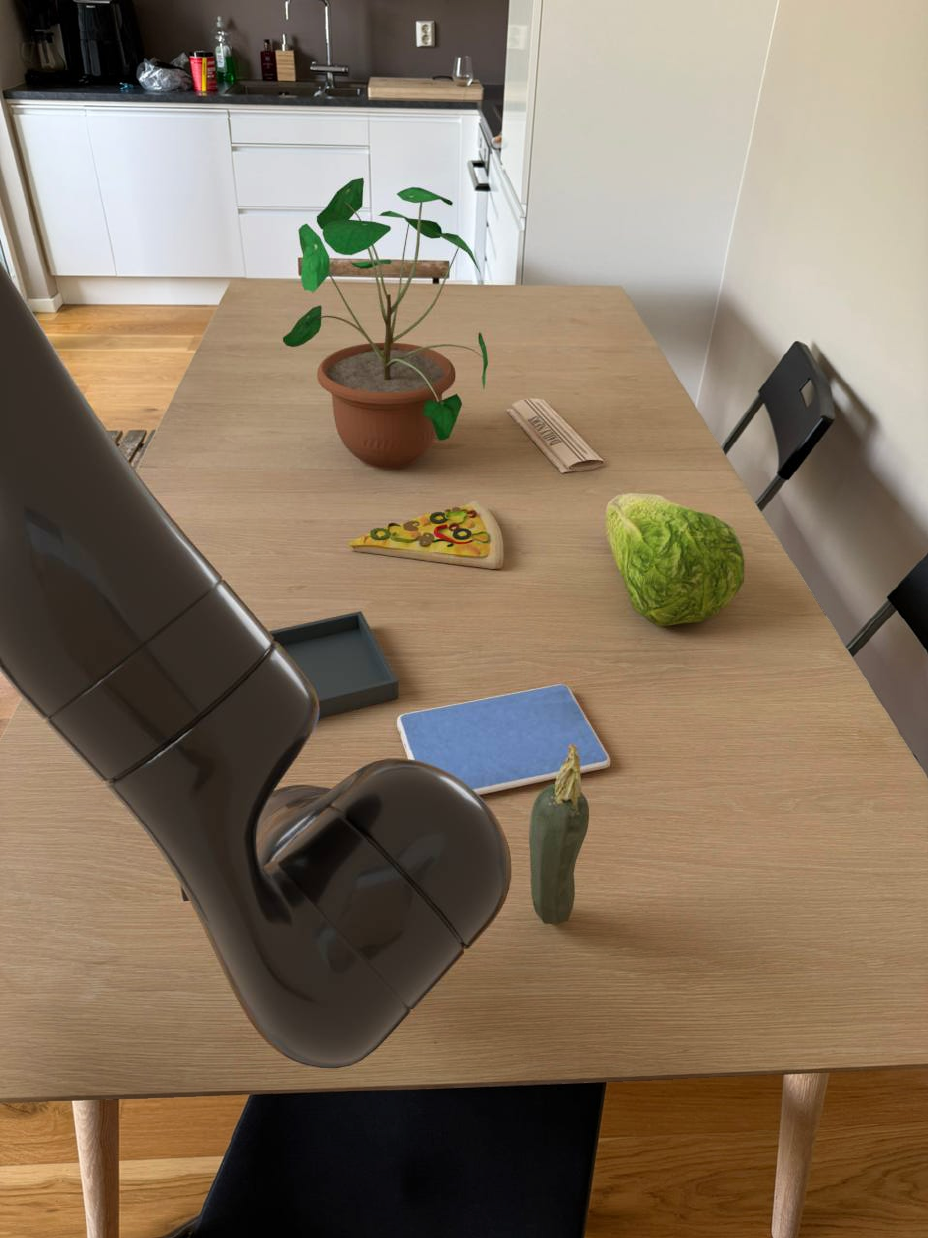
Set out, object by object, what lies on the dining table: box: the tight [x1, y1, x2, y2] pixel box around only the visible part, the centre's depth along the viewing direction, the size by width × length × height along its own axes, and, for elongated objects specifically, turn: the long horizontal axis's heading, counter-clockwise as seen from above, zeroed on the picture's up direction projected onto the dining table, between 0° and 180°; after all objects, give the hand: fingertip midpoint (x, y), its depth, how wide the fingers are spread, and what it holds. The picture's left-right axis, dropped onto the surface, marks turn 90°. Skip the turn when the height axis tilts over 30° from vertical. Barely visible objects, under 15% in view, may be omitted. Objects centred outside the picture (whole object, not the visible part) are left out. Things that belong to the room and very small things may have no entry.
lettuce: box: [604, 492, 745, 628], centre depth 112 cm, size 14×24×14 cm
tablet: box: [396, 683, 611, 796], centre depth 90 cm, size 19×13×1 cm, turn 107°
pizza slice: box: [347, 500, 504, 570], centre depth 119 cm, size 16×21×3 cm
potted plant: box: [282, 177, 489, 470], centre depth 131 cm, size 31×29×40 cm
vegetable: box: [528, 744, 590, 926], centre depth 69 cm, size 4×4×20 cm
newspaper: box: [506, 398, 605, 474], centre depth 146 cm, size 24×7×2 cm, turn 19°
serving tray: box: [268, 610, 400, 720], centre depth 97 cm, size 17×13×2 cm
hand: (277, 835), depth 63 cm, fingers closed on beverage can, 5 cm apart
